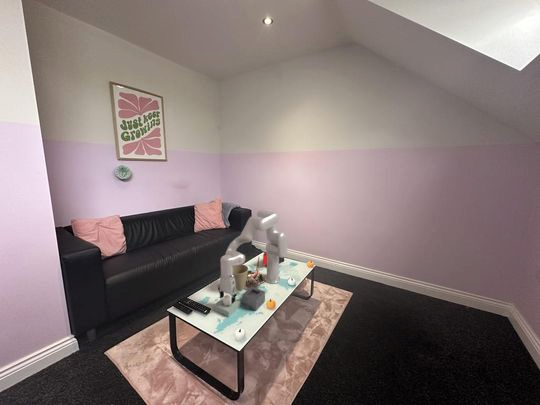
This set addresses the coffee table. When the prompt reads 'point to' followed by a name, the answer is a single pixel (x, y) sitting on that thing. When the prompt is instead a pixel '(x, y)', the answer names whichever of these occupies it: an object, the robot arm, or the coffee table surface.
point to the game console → (266, 259)
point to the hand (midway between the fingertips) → (227, 299)
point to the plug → (227, 300)
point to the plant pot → (240, 276)
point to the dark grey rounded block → (253, 298)
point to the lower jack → (227, 310)
